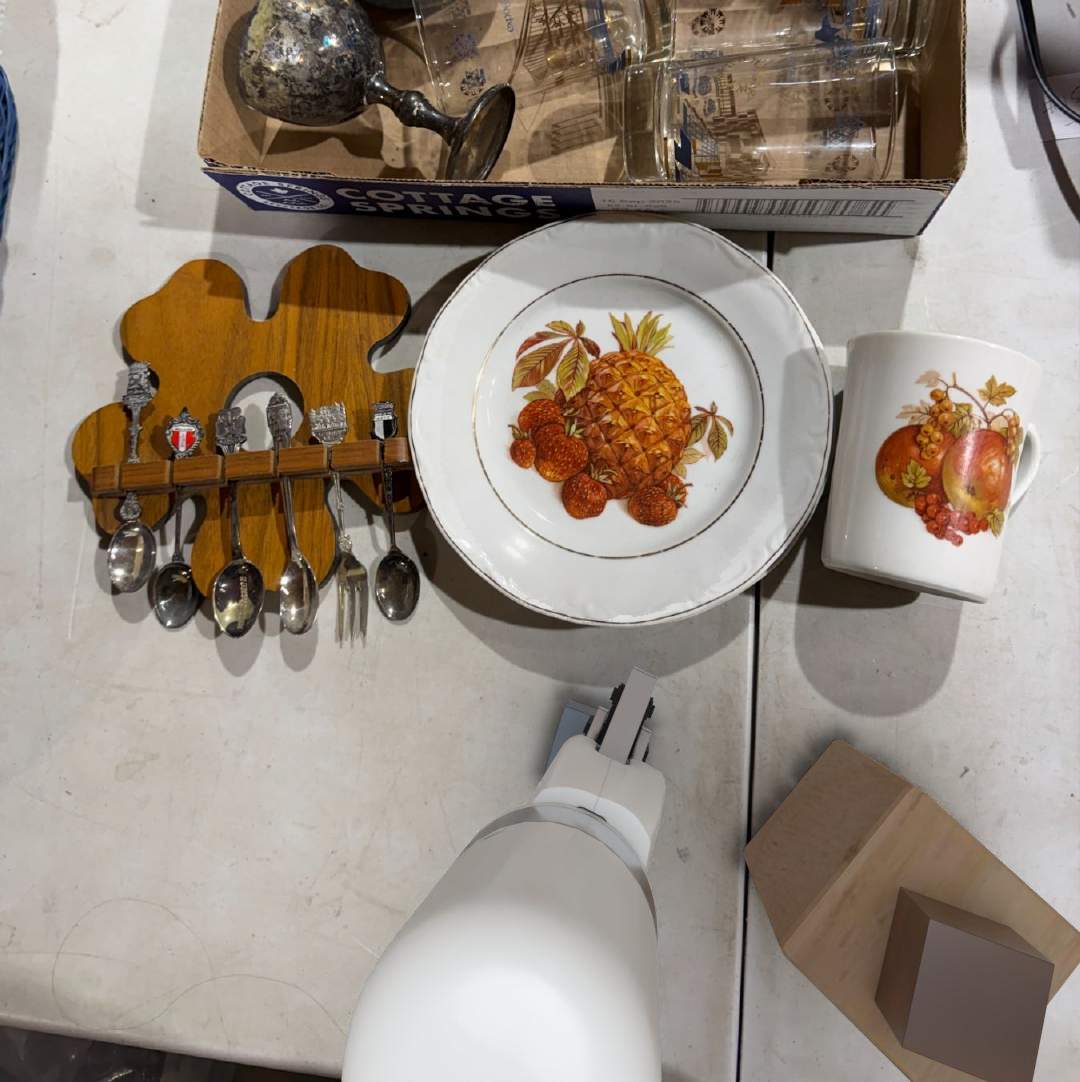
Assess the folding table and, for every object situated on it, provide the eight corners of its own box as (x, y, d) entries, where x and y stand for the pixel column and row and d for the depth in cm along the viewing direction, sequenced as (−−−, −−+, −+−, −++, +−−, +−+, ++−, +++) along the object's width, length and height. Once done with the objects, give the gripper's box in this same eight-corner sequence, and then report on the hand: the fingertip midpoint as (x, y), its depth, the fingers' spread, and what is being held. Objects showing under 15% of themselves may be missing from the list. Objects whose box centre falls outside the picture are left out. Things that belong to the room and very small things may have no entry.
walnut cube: (987, 1046, 43) (1030, 1099, 38) (873, 1001, 44) (901, 1048, 39) (1011, 927, 44) (1055, 964, 40) (899, 886, 45) (929, 918, 40)
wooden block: (738, 852, 64) (776, 950, 45) (836, 734, 65) (913, 781, 46) (862, 973, 62) (958, 1131, 43) (961, 848, 63) (1098, 948, 44)
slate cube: (618, 799, 66) (615, 812, 61) (548, 773, 67) (540, 784, 62) (639, 724, 67) (638, 732, 62) (570, 699, 68) (564, 705, 63)
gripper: (542, 1265, 31) (579, 1039, 47) (745, 733, 34) (713, 695, 50) (335, 1138, 32) (441, 962, 49) (548, 640, 35) (580, 633, 52)
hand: (580, 826), depth 50 cm, fingers open, 9 cm apart
